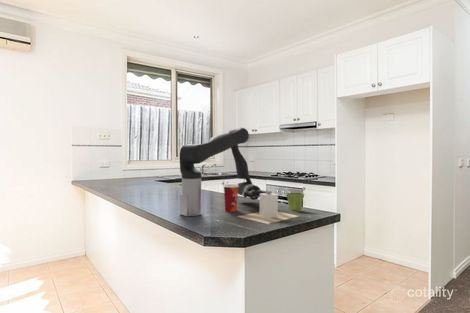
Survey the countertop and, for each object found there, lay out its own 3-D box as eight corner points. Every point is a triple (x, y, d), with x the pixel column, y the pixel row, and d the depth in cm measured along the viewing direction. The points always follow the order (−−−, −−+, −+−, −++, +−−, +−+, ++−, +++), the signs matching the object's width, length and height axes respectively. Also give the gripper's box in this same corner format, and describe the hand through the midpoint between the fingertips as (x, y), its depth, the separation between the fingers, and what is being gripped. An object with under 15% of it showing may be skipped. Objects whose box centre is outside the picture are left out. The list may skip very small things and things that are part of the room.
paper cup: (237, 213, 137) (237, 184, 137) (221, 213, 138) (221, 184, 138) (240, 210, 144) (240, 183, 144) (225, 210, 146) (225, 182, 146)
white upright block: (264, 218, 125) (264, 192, 125) (259, 214, 131) (259, 190, 131) (277, 217, 126) (277, 192, 126) (272, 214, 132) (272, 190, 132)
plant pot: (297, 213, 139) (297, 195, 139) (282, 210, 146) (282, 193, 146) (308, 210, 145) (308, 193, 145) (293, 208, 152) (293, 192, 152)
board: (267, 225, 114) (267, 223, 114) (237, 218, 128) (237, 216, 128) (299, 217, 129) (299, 215, 129) (269, 211, 143) (269, 210, 143)
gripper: (239, 185, 153) (247, 188, 137) (264, 184, 156) (275, 188, 140) (239, 198, 153) (247, 204, 138) (264, 198, 156) (274, 203, 141)
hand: (261, 196), depth 139 cm, fingers open, 8 cm apart
